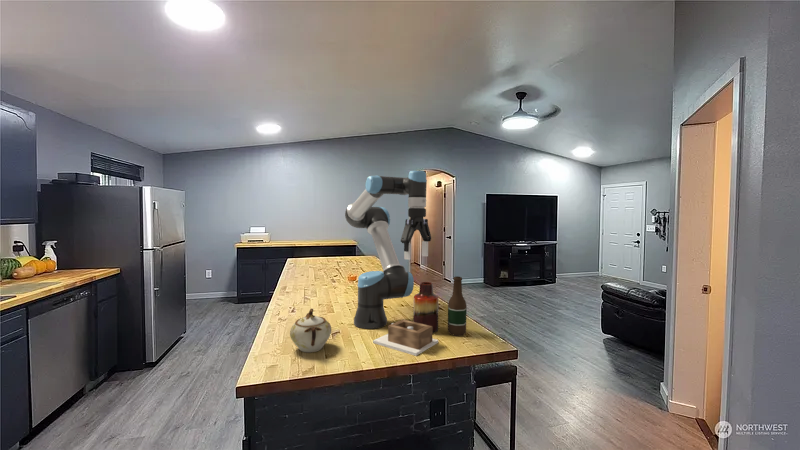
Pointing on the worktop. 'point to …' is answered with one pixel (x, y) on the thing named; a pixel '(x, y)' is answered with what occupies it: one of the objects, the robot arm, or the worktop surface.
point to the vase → (426, 306)
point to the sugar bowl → (310, 332)
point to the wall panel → (412, 351)
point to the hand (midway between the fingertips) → (416, 257)
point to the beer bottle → (457, 310)
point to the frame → (410, 334)
